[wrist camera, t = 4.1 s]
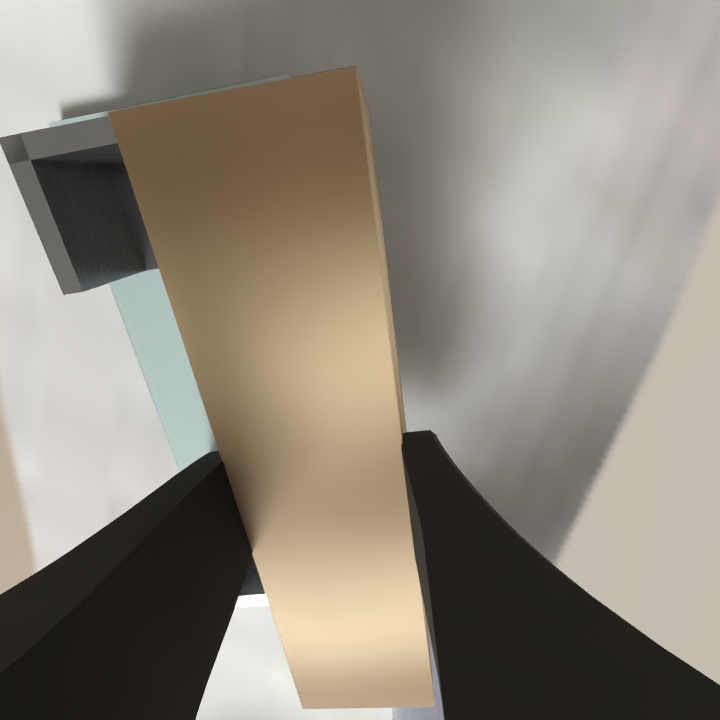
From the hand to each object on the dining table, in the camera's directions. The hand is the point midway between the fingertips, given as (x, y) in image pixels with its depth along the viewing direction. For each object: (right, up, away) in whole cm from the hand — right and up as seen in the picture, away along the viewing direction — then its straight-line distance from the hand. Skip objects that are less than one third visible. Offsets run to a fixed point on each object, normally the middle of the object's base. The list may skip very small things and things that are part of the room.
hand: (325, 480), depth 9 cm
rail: (0, +1, +3) cm, 3 cm away
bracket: (-5, +8, +7) cm, 12 cm away
